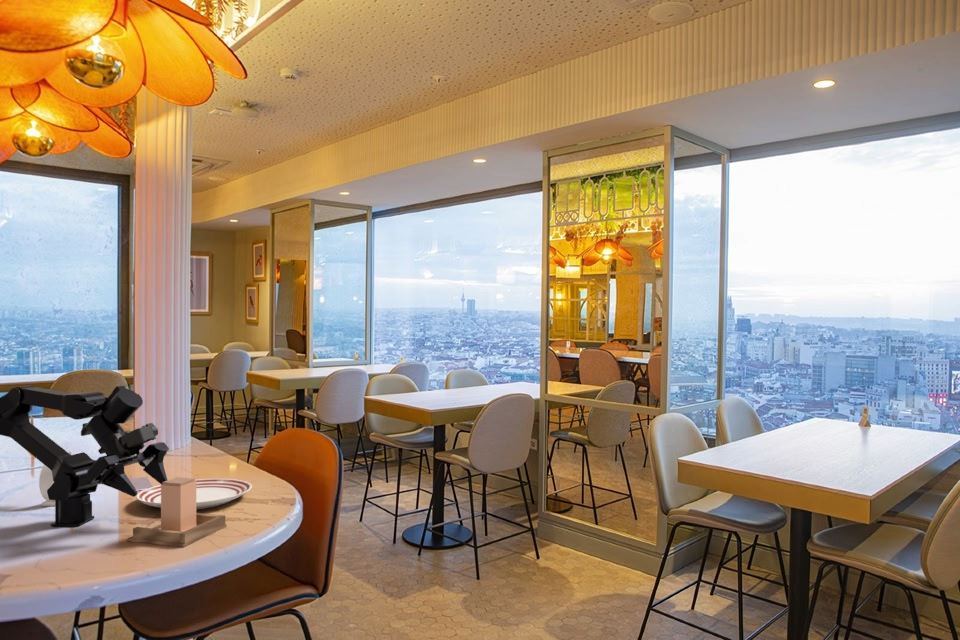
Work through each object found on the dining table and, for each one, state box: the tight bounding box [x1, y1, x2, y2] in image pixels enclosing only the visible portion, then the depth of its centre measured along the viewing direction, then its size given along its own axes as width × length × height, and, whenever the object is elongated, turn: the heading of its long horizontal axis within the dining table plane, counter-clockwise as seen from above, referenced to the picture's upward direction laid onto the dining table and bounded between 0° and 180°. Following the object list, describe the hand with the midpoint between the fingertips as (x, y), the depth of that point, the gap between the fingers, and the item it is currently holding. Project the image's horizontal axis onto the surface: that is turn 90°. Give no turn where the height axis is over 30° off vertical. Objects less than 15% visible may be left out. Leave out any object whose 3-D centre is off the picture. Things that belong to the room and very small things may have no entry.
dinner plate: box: [135, 478, 253, 511], centre depth 171 cm, size 28×27×3 cm
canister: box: [160, 476, 197, 532], centre depth 145 cm, size 5×5×11 cm
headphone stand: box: [38, 453, 73, 507], centre depth 168 cm, size 5×6×12 cm
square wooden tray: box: [127, 512, 227, 548], centre depth 145 cm, size 14×14×3 cm
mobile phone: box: [129, 476, 154, 492], centre depth 186 cm, size 8×1×15 cm
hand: (151, 489), depth 147 cm, fingers open, 9 cm apart
